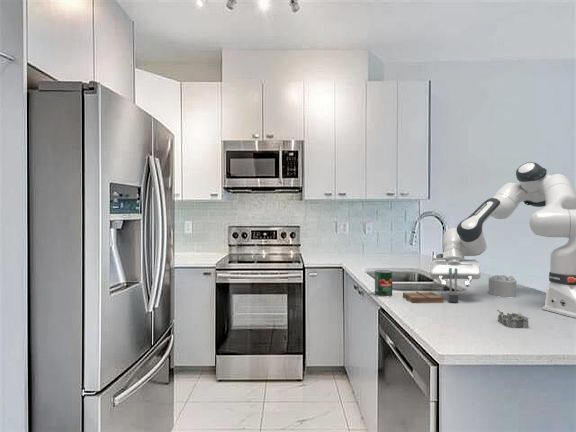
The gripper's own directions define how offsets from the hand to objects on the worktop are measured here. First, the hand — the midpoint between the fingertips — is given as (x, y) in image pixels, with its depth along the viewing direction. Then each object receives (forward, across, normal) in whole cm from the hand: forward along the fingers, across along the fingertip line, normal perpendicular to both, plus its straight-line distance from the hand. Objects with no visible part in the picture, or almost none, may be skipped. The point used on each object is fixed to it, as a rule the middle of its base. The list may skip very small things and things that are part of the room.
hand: (455, 285), depth 186 cm
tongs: (+5, +1, -5) cm, 7 cm away
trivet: (+4, +13, -6) cm, 15 cm away
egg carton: (+28, -17, +17) cm, 37 cm away
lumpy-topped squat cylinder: (-12, -21, -24) cm, 34 cm away
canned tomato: (-1, +31, -10) cm, 32 cm away
